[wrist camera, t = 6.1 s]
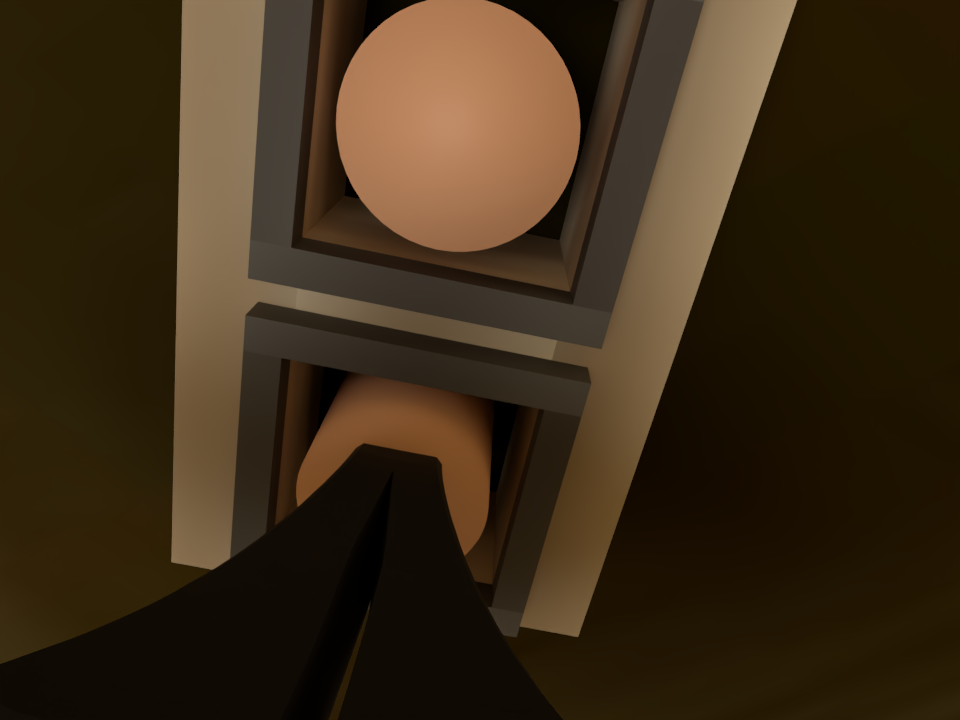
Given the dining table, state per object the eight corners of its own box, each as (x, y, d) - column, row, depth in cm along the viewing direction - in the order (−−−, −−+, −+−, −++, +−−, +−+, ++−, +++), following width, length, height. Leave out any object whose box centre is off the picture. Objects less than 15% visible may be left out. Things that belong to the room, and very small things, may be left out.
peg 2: (509, 351, 14) (506, 439, 11) (478, 482, 16) (468, 592, 13) (350, 319, 14) (305, 399, 11) (333, 454, 16) (288, 559, 13)
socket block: (746, -34, 12) (833, -57, 9) (568, 538, 17) (580, 661, 14) (263, -142, 12) (164, -209, 8) (228, 474, 17) (157, 583, 13)
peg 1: (585, 27, 12) (608, 27, 9) (540, 215, 13) (548, 272, 10) (394, -14, 12) (350, -30, 9) (369, 179, 13) (324, 226, 10)
